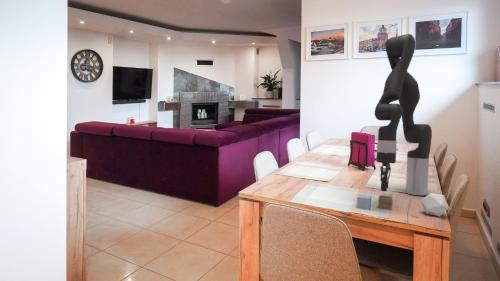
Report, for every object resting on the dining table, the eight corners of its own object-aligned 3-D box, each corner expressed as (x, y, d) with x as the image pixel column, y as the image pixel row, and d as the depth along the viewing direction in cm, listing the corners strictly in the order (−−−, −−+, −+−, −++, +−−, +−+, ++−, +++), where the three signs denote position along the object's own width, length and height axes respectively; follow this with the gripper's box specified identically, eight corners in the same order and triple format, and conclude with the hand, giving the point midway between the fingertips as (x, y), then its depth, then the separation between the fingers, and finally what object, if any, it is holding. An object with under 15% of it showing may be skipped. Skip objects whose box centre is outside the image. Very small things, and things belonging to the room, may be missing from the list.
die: (418, 214, 126) (447, 222, 121) (422, 192, 125) (452, 199, 120) (418, 208, 133) (446, 216, 129) (423, 188, 132) (451, 194, 128)
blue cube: (358, 206, 139) (359, 194, 139) (371, 207, 137) (371, 196, 136) (357, 208, 134) (357, 197, 134) (369, 210, 132) (370, 198, 132)
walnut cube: (379, 206, 139) (379, 195, 139) (391, 208, 137) (392, 196, 136) (378, 209, 134) (378, 197, 134) (391, 210, 132) (391, 198, 132)
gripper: (378, 149, 142) (376, 186, 143) (375, 151, 130) (373, 191, 130) (397, 150, 139) (395, 188, 140) (395, 152, 126) (393, 193, 127)
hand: (384, 189), depth 135 cm, fingers open, 8 cm apart
